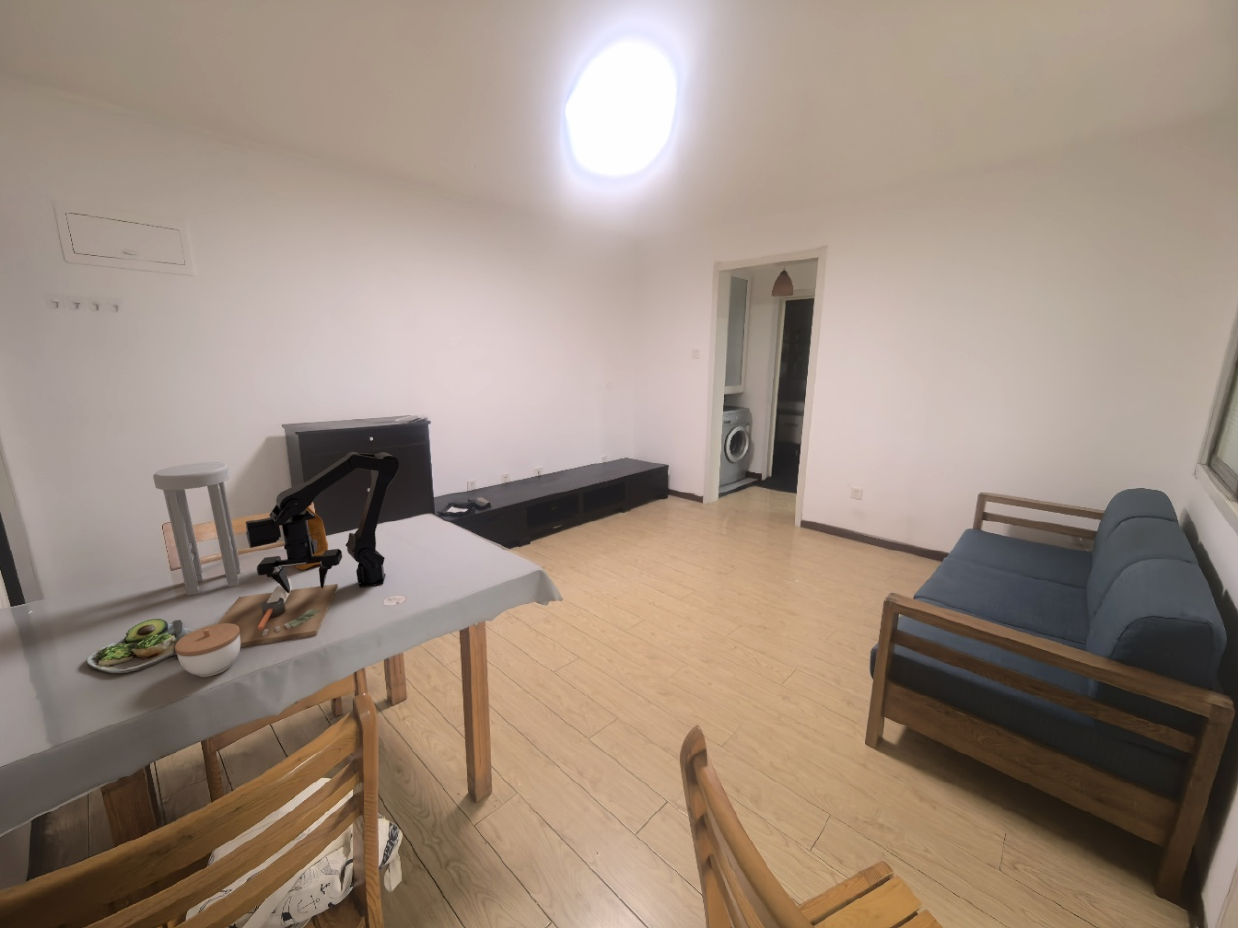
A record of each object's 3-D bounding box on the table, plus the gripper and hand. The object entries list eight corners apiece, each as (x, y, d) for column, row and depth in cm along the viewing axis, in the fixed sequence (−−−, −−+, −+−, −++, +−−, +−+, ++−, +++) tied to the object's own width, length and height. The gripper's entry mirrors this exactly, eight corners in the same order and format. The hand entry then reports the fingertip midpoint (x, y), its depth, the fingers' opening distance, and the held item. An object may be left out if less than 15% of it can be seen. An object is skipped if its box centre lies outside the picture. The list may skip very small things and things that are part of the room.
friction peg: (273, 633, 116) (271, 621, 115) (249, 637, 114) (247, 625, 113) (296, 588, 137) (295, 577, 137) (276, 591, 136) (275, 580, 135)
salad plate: (221, 640, 116) (218, 622, 115) (126, 687, 100) (121, 667, 99) (173, 623, 123) (169, 607, 122) (76, 664, 107) (71, 646, 106)
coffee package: (323, 551, 165) (313, 490, 160) (332, 563, 156) (323, 498, 151) (288, 560, 158) (277, 496, 153) (296, 573, 150) (285, 505, 144)
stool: (249, 566, 154) (229, 459, 146) (246, 586, 142) (223, 470, 133) (186, 578, 146) (160, 466, 137) (176, 600, 133) (147, 478, 125)
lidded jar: (193, 691, 99) (184, 651, 96) (174, 672, 104) (164, 634, 102) (254, 663, 108) (246, 625, 105) (233, 647, 113) (225, 611, 111)
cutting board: (338, 587, 141) (337, 582, 141) (316, 634, 118) (315, 629, 118) (239, 600, 133) (238, 595, 133) (196, 654, 110) (195, 648, 110)
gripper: (342, 522, 139) (349, 572, 143) (265, 530, 133) (275, 582, 137) (334, 536, 129) (342, 589, 133) (251, 546, 123) (262, 601, 127)
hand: (306, 590), depth 133 cm, fingers open, 8 cm apart
